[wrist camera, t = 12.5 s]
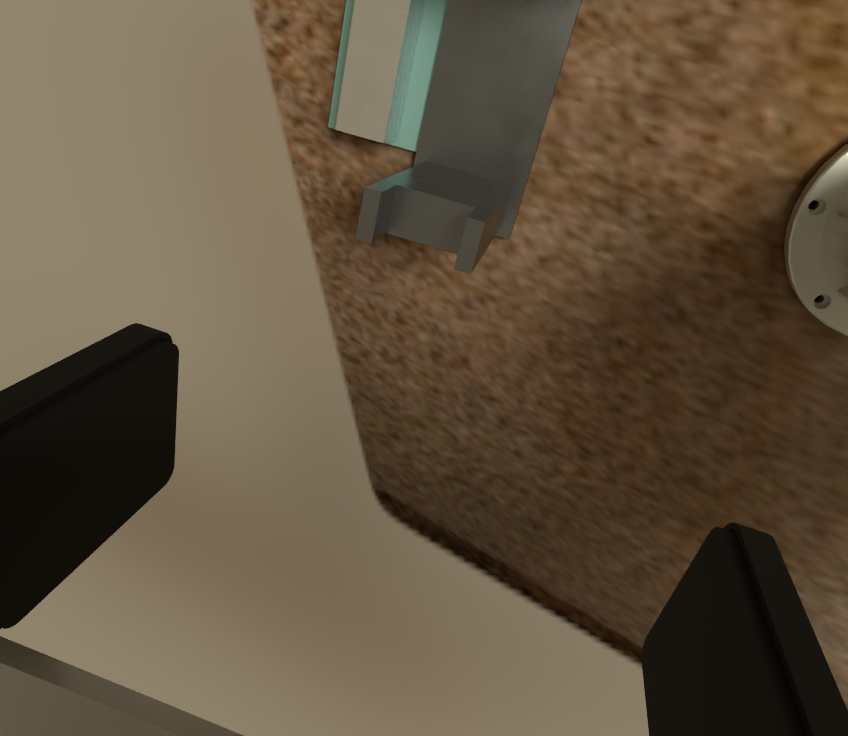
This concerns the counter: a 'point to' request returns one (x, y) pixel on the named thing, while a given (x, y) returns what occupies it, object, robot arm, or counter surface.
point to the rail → (378, 67)
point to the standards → (476, 128)
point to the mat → (419, 74)
